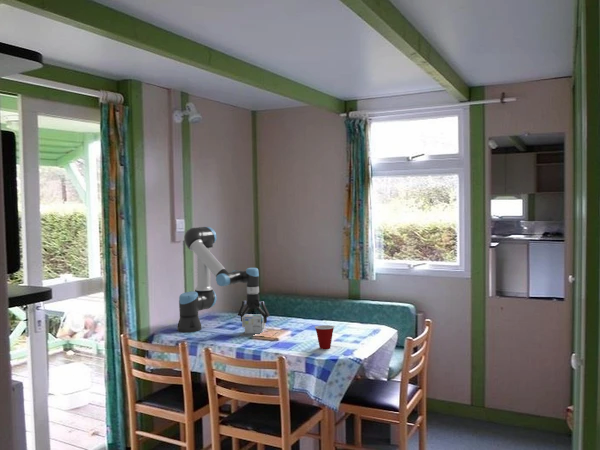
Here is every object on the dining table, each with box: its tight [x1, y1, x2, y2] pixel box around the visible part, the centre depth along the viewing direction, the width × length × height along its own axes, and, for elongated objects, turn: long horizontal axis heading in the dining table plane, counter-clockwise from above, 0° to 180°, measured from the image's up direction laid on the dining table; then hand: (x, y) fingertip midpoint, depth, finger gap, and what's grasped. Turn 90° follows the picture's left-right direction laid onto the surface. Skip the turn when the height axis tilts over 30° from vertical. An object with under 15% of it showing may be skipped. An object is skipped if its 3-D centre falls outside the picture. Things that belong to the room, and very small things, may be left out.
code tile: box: [239, 331, 255, 337], centre depth 317 cm, size 20×14×1 cm
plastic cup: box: [314, 324, 335, 350], centre depth 283 cm, size 11×11×12 cm
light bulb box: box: [244, 313, 264, 334], centre depth 319 cm, size 11×7×11 cm, turn 84°
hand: (253, 327), depth 320 cm, fingers open, 13 cm apart
